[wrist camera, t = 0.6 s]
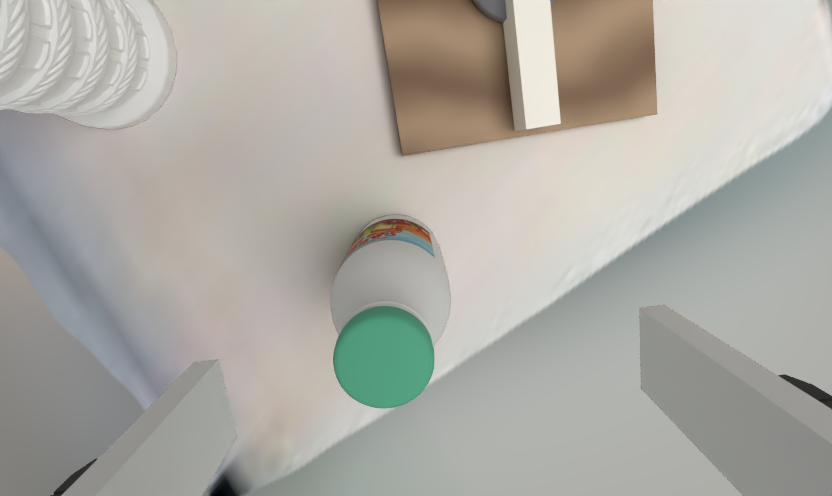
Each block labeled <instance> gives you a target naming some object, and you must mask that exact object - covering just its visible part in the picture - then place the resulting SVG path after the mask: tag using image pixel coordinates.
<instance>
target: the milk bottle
mask: <svg viewBox="0 0 832 496" xmlns="http://www.w3.org/2000/svg"><path fill="white" fill-rule="evenodd" d="M450 306H451V292H450V285H449V280H448V275H447V272H446V268H445V264H444V260H443V257H442V253H441V250H440V247H439V244H438V242H437V240H436V238H435V236H434V235H433V233H432V232H431V231H430V230H429V229H428V228H427V227H426V226H425V225H424V224H423V223H421V222H420V221H418V220H416V219H414V218H411V217H408V216H404V215H389V216H384V217H381V218H378V219H376V220H374V221H372V222H371V223H369V224H368V225H367V226H366V227H365V228H364V229H363V230H362V231H361V232H360V233H359V235H358V236H357V238H356V239H355V241H354V242H353V244H352V246H351V248H350V249H349V251H348V253H347V255H346V257H345V259H344V260H343V262H342V264H341V266H340V268H339V270H338V273H337V275H336V278H335V280H334V283H333V287H332V293H331V313H332V318H333V322H334V325H335V328H336V330H337V332H338V334H339V337H338V339H337V342H336V346H335V350H334V356H333V364H334V370H335V374H336V377H337V379H338V381H339V383H340V385H341V387H342V388H343V389H344V391H345V392H346V393H347V394H348V395H349V396H351V397H352V398H353V399H355V400H356V401H358V402H360V403H362V404H364V405H367V406H371V407H375V408H393V407H397V406H401V405H403V404H406V403H408V402H410V401H411V400H413V399H414V398H416V397H417V396H418V395H419V394H420V393H421V392H422V391H423V390H424V389H425V387H426V386H427V384H428V382H429V380H430V378H431V376H432V373H433V369H434V348H433V346H434V345H435V343H436V342H437V341H438V339H439V338H440V337H441V335H442V333H443V331H444V329H445V327H446V324H447V321H448V318H449V314H450Z"/></svg>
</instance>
